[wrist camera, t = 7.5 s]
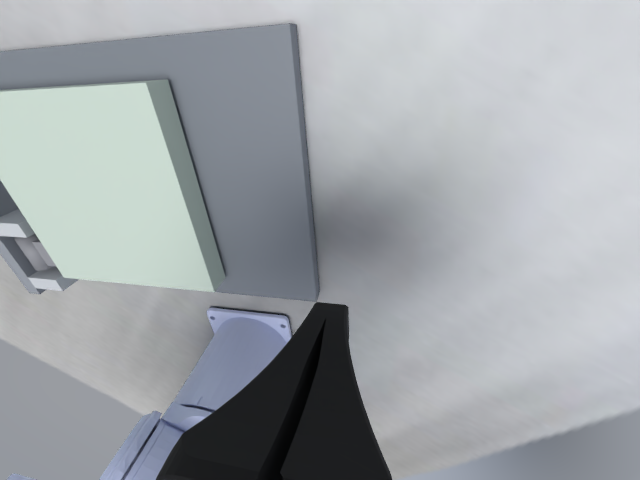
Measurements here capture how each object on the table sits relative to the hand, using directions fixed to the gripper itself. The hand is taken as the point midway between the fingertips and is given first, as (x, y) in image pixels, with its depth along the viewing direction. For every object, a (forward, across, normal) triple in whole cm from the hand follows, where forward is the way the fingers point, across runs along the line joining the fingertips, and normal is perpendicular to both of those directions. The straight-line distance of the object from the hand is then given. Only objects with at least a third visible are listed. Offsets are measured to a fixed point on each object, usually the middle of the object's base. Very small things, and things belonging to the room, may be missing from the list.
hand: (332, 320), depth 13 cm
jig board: (+9, +16, -2) cm, 19 cm away
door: (+8, +19, -2) cm, 21 cm away
